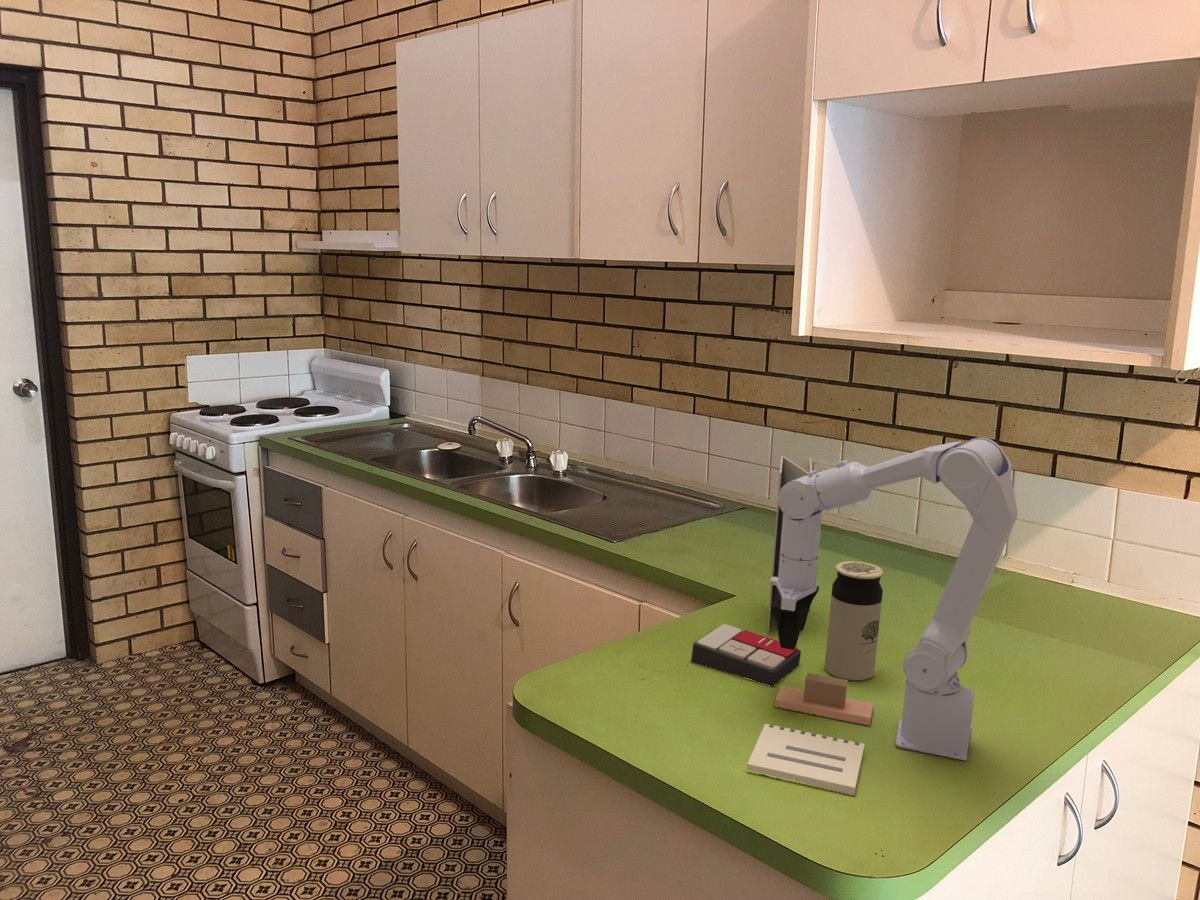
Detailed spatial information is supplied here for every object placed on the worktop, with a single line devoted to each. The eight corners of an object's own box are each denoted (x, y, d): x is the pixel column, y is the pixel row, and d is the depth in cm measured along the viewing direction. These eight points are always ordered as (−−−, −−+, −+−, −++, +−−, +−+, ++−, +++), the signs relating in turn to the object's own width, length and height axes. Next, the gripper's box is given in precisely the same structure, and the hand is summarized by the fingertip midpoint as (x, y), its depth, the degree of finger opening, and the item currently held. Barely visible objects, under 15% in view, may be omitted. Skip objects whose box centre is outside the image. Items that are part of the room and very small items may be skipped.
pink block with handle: (872, 710, 148) (875, 681, 147) (869, 725, 144) (872, 695, 143) (780, 693, 153) (783, 664, 152) (774, 706, 148) (777, 677, 147)
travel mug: (815, 664, 164) (824, 562, 160) (855, 658, 167) (865, 558, 163) (842, 684, 157) (853, 578, 153) (883, 678, 160) (895, 574, 156)
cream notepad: (863, 751, 136) (864, 743, 136) (854, 796, 125) (855, 786, 125) (764, 731, 141) (765, 723, 141) (746, 772, 130) (747, 763, 130)
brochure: (798, 637, 175) (812, 475, 168) (766, 634, 176) (779, 472, 170) (798, 609, 189) (811, 458, 182) (769, 606, 190) (781, 455, 183)
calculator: (775, 668, 155) (692, 639, 162) (772, 692, 156) (689, 663, 164) (802, 646, 163) (722, 619, 171) (799, 669, 165) (720, 642, 172)
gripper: (781, 538, 156) (774, 617, 159) (763, 565, 142) (756, 651, 145) (826, 544, 153) (818, 625, 156) (812, 572, 140) (804, 660, 143)
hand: (791, 638), depth 151 cm, fingers open, 7 cm apart
